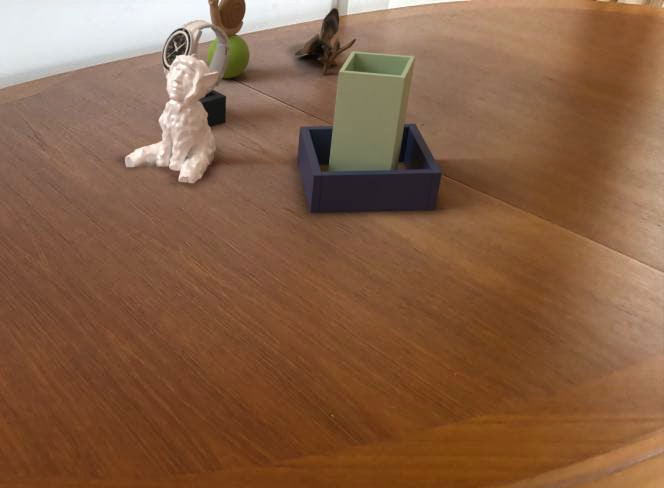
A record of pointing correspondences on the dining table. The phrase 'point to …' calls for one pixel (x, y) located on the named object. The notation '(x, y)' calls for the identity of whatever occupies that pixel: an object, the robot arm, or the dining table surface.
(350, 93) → the small bin
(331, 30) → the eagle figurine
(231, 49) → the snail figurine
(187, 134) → the seated beast figurine
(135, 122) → the dining table surface
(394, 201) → the box
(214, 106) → the watch
